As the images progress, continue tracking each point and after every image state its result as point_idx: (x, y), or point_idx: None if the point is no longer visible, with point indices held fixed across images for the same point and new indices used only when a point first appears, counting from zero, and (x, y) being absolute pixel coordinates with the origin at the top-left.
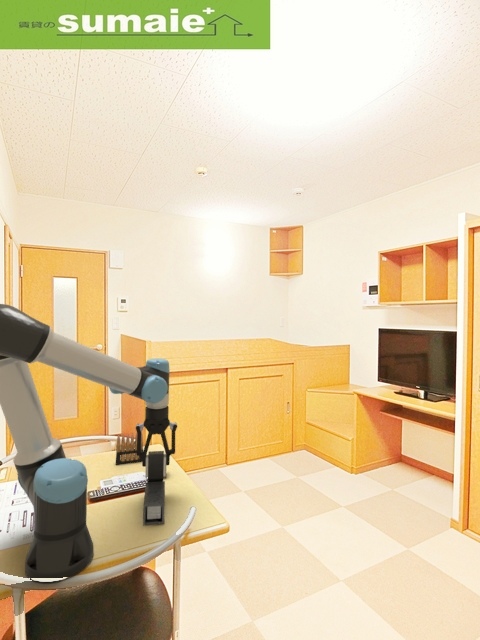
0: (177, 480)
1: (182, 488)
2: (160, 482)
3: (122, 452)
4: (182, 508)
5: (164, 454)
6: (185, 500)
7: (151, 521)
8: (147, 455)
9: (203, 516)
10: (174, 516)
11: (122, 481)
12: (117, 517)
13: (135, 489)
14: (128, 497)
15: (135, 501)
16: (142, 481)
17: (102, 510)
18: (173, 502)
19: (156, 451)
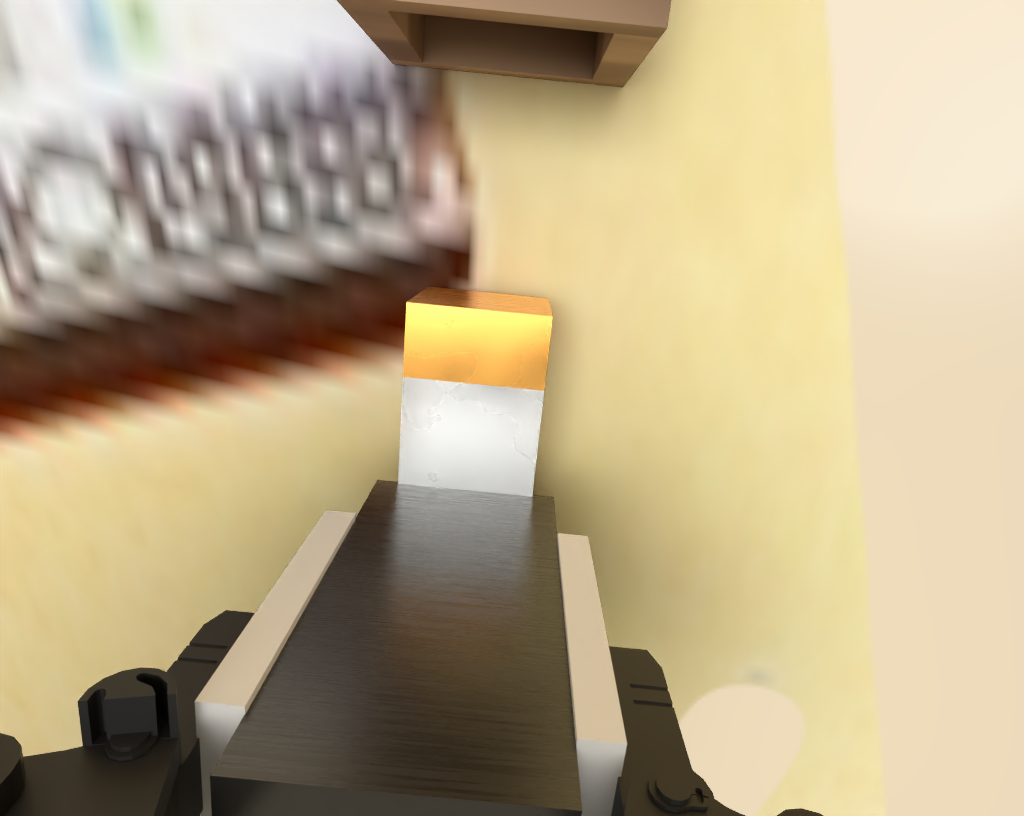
0: (741, 178)
1: (750, 375)
2: None
3: None
4: (671, 686)
5: (586, 770)
6: (723, 587)
7: None
8: (223, 742)
9: (792, 806)
10: None
11: (116, 45)
12: None
13: (284, 282)
14: (234, 423)
15: (303, 504)
16: (347, 104)
17: (58, 573)
18: (618, 592)
19: (400, 810)
